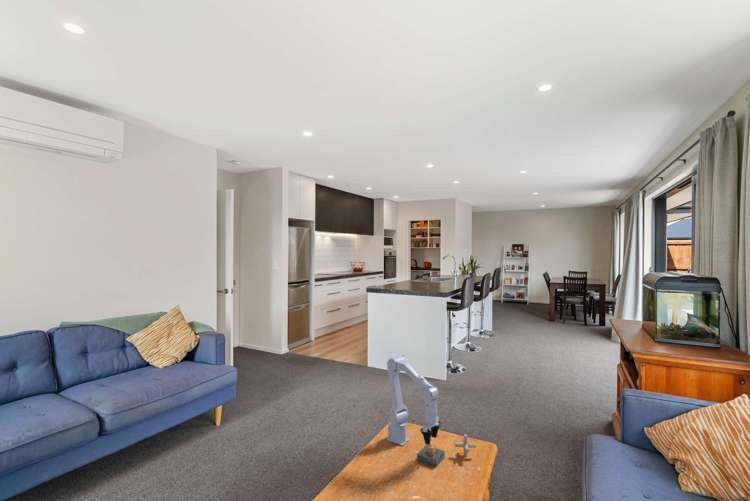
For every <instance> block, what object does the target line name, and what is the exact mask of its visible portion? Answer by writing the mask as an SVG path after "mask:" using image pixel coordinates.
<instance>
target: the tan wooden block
mask: <svg viewBox="0 0 750 501" xmlns="http://www.w3.org/2000/svg"><path fill="white" fill-rule="evenodd" d="M436 448H437V447H436V445H434V444H431V443H430V445H428V447H427V454H428V455H431V456H434V455H435V454H436Z"/></svg>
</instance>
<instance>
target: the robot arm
mask: <svg viewBox="0 0 750 501" xmlns="http://www.w3.org/2000/svg"><path fill="white" fill-rule="evenodd" d="M386 367H387V374H388V381H389V387H390V393H391V394H390V395H391V400H392V405H391V408H390V409H389V423H388V426H387V439H386V441H388V442H389V443H394V444H397V445H399V446H404V445H405V444H406V443H408V441H409V440H410V438H409V437H407V424H408V421H410V420H409V419H410V413H409V410H408V407H407V405H405V404H404V403H403V402H404V401H403V395H402V390H401V382H400V377H399V376H400V373H401V372H404V373H405V374H406V375H407V376H409V377H410V378H411V380H412V381H413V384H414V385H415V387H416V388H417V390H419V391H420V392H421V394H422V398H423V400H424V422H423V426H422V428H421V429H420V433H421V434H422V437H423V440H424V444H425V445H428V446H429V445H430V444H431V440H432V438H435V439H437V437H438V432H439V429H440V427H441V424H442V423H441V422H440V415H439V416H438V398H439V397H440V390H439V388H438V387H437V386H435V385H432V384H430V382H429V381H428V380H427V379H426V378H425V376H423V375H419V374H418V373H417V372H416V370H415V369H414V368H413V367H412V365H411V364H410V361H409V359H408V358H407V357H406V356H405V355H398V356H396V357H392V358H391V357H390V358H389V359H388V360H387V361H386Z"/></svg>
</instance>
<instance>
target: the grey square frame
mask: <svg viewBox="0 0 750 501" xmlns="http://www.w3.org/2000/svg"><path fill="white" fill-rule="evenodd" d="M428 446H429V445H427V444H425V445H424V446H423V447H422V448H421V450H420V451H418V453H417V454H416V461H417V462H420V463H423V464H425V465H429V466H432V467H434V468H437V467H438V466H439V465H440V463H441V462H442V461H443V460H444V459H445V456H446V455H445V454H446V453H445V452H446V451H445V450H443V449H441V448H437V447H436V454H435V455H434V456H431V455H428V454H427V447H428Z"/></svg>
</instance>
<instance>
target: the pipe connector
mask: <svg viewBox="0 0 750 501" xmlns="http://www.w3.org/2000/svg"><path fill="white" fill-rule="evenodd" d="M454 447H455V448H463V457H465V458H466V457H468V453H469V452H470V449H471V448H472V449H477V444H476V443H469V442H468V434H465V433H464V434H463V438H462V442H455V443H454Z"/></svg>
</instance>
